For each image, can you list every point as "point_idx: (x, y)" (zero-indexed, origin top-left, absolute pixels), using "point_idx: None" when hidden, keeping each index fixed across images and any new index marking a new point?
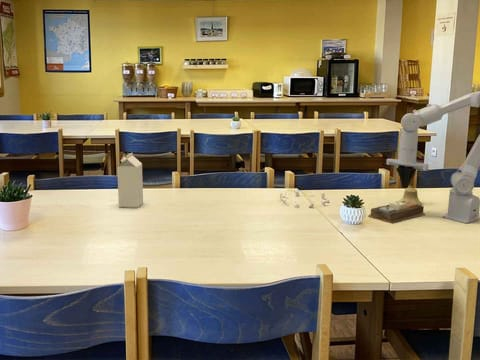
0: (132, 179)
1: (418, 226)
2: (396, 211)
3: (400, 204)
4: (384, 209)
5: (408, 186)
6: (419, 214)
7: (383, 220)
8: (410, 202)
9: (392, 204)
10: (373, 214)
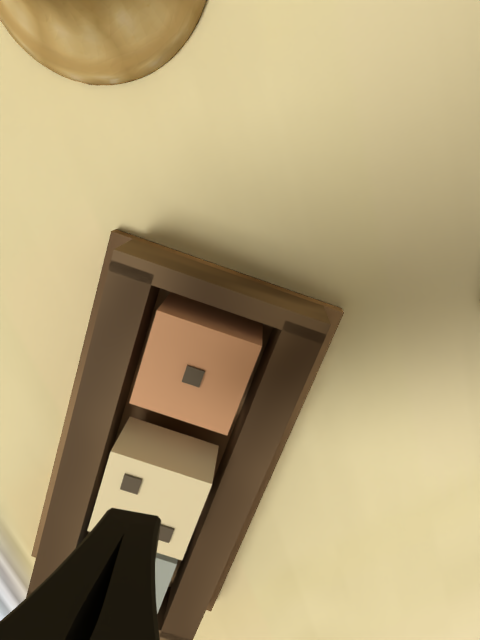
0: None
1: (362, 580)
2: (194, 582)
3: (181, 533)
4: None
5: (159, 529)
6: (310, 372)
7: None
8: (122, 47)
9: None
10: None
